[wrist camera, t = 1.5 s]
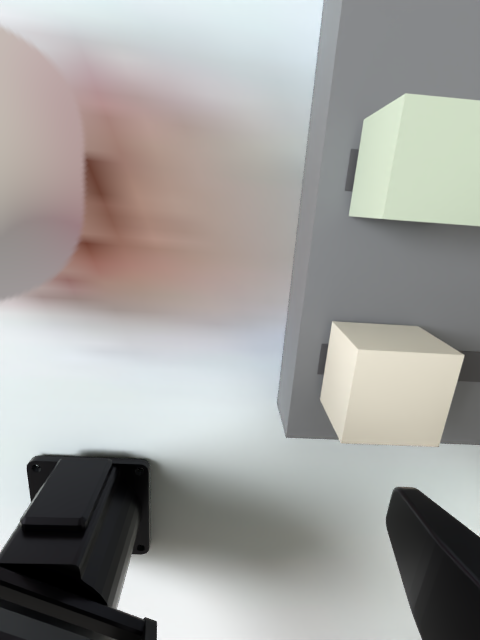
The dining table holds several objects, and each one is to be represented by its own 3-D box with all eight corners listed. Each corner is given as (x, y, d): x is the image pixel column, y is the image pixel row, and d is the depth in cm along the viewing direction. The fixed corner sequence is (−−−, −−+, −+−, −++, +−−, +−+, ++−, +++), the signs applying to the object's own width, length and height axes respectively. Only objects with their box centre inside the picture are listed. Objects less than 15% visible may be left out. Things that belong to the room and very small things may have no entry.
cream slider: (400, 403, 16) (438, 447, 13) (319, 399, 16) (340, 443, 13) (418, 326, 15) (464, 355, 12) (332, 321, 14) (358, 349, 12)
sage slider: (442, 223, 13) (500, 227, 11) (348, 216, 13) (382, 218, 10) (464, 128, 12) (535, 105, 10) (363, 119, 12) (405, 93, 9)
